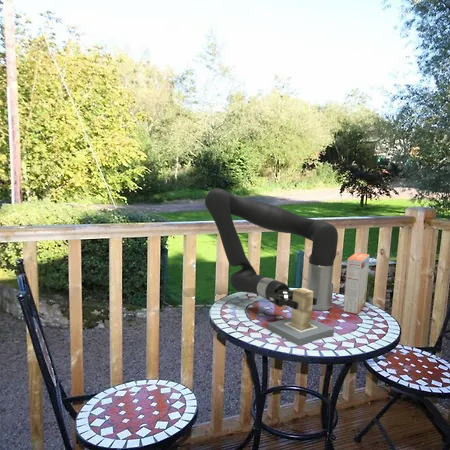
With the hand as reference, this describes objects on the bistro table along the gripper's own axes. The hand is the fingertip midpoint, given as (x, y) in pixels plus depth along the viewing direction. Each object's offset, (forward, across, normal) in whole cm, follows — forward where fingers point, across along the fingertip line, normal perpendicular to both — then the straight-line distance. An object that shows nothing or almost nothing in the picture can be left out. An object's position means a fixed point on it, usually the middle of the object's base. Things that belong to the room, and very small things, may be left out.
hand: (306, 304), depth 129 cm
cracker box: (-8, +36, +10) cm, 38 cm away
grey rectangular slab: (-2, 0, +10) cm, 10 cm away
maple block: (-2, 0, +8) cm, 8 cm away
